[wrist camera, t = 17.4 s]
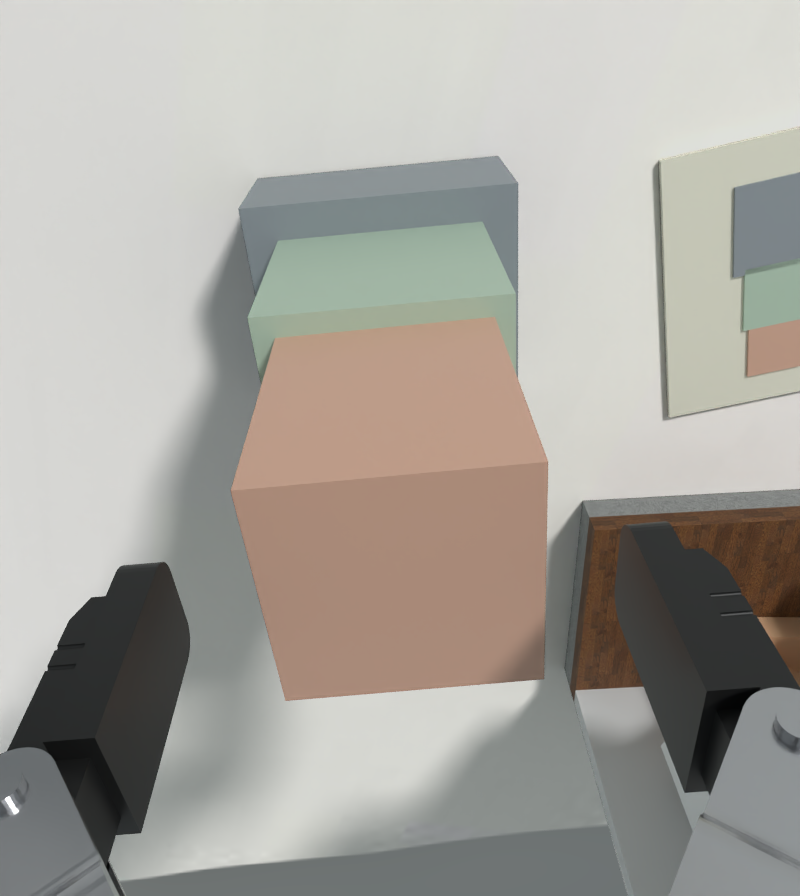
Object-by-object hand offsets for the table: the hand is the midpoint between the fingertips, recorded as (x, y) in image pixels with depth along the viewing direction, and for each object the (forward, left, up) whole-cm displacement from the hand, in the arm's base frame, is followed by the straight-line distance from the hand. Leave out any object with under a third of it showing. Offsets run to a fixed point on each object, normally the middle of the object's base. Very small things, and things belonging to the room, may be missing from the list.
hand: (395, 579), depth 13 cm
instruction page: (+1, +14, -16) cm, 21 cm away
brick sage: (0, 0, -12) cm, 12 cm away
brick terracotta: (0, 0, -6) cm, 6 cm away
